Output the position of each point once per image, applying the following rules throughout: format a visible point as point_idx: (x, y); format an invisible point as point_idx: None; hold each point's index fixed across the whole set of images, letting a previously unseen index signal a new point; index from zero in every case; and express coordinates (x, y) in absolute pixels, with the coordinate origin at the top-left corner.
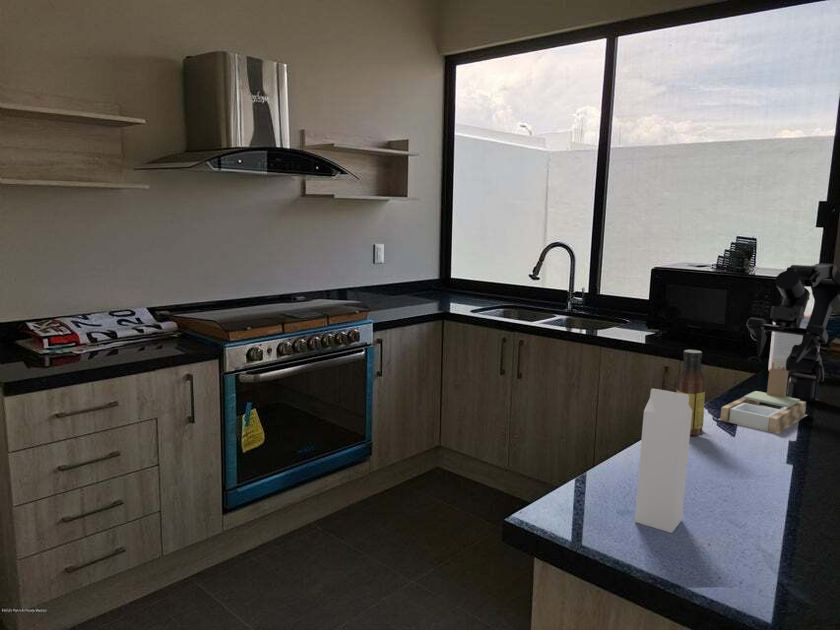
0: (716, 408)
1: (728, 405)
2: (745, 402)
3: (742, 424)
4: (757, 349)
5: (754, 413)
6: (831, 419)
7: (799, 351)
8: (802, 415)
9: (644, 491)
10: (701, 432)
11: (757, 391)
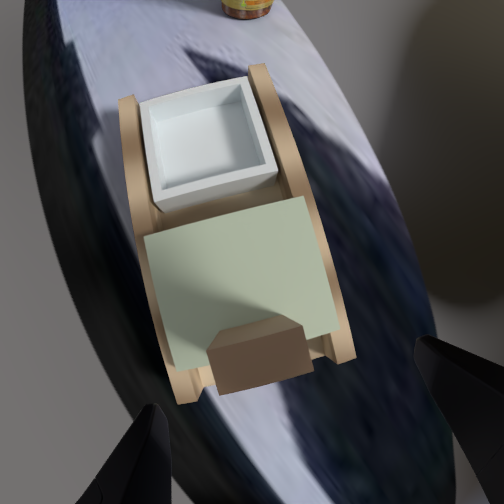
0: (370, 209)
1: (268, 90)
2: None
3: None
4: (457, 348)
5: (181, 94)
6: None
7: (124, 460)
8: None
9: None
10: (222, 7)
11: (331, 326)
